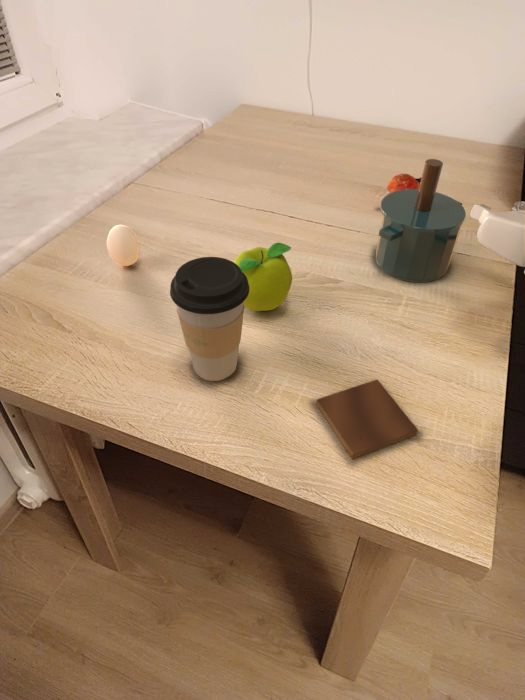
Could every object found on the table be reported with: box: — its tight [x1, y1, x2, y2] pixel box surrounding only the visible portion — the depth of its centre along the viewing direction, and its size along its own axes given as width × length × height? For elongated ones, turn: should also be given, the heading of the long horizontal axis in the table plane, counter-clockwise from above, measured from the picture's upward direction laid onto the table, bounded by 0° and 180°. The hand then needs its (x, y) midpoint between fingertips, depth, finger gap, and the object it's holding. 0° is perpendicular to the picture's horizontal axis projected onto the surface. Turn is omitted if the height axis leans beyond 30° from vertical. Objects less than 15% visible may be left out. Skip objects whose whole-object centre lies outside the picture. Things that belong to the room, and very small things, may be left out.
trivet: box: [315, 379, 419, 460], centre depth 62 cm, size 9×9×1 cm
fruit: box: [233, 242, 293, 312], centre depth 75 cm, size 9×9×10 cm
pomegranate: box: [386, 173, 422, 194], centre depth 99 cm, size 7×7×10 cm
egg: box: [106, 224, 141, 267], centre depth 84 cm, size 5×5×7 cm
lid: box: [379, 158, 467, 233], centre depth 78 cm, size 13×13×9 cm
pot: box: [375, 200, 464, 283], centre depth 84 cm, size 12×18×10 cm
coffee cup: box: [169, 256, 249, 382], centre depth 63 cm, size 9×9×15 cm
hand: (495, 207), depth 72 cm, fingers open, 8 cm apart
